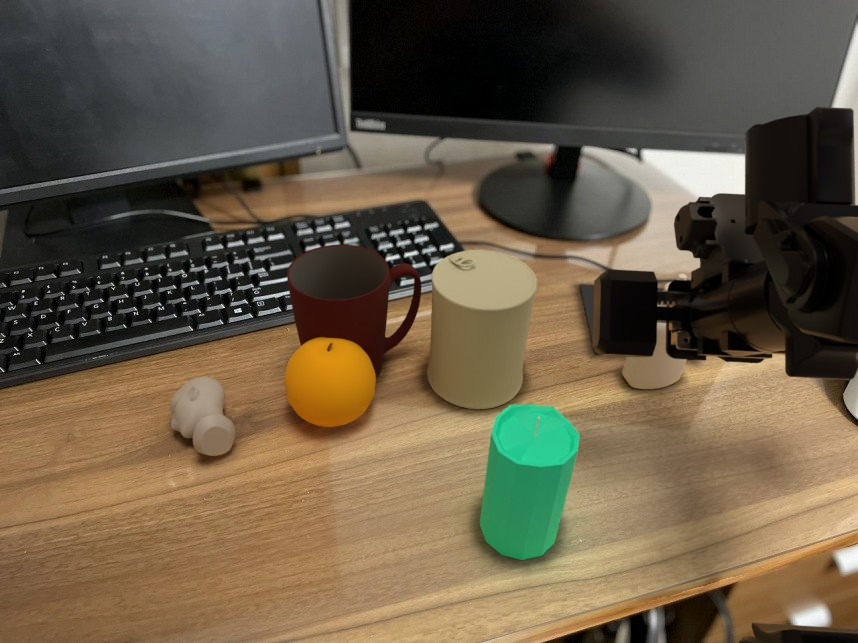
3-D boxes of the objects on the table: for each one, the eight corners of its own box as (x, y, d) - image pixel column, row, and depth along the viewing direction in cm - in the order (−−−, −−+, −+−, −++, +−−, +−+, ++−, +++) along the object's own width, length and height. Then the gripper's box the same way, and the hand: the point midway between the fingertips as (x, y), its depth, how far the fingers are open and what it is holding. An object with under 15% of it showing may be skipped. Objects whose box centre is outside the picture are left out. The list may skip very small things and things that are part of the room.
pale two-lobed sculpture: (179, 415, 61) (230, 388, 62) (191, 479, 55) (247, 449, 56) (154, 385, 58) (208, 358, 59) (163, 450, 52) (223, 419, 53)
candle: (562, 561, 49) (591, 454, 42) (481, 558, 49) (496, 451, 42) (551, 494, 54) (576, 387, 47) (477, 492, 54) (490, 384, 47)
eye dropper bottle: (621, 357, 67) (649, 257, 60) (679, 368, 67) (714, 267, 59) (620, 387, 64) (649, 284, 57) (681, 398, 63) (719, 295, 56)
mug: (405, 325, 71) (406, 234, 64) (432, 380, 64) (436, 285, 57) (291, 346, 67) (279, 252, 61) (307, 406, 61) (296, 308, 54)
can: (474, 333, 70) (483, 233, 62) (542, 378, 65) (560, 276, 57) (407, 372, 65) (408, 269, 57) (475, 425, 60) (486, 319, 52)
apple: (271, 405, 61) (260, 342, 56) (340, 367, 65) (335, 305, 61) (324, 456, 56) (317, 391, 52) (394, 411, 61) (394, 347, 56)
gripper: (922, 187, 42) (792, 243, 58) (626, 173, 43) (576, 232, 58) (927, 363, 41) (793, 372, 57) (622, 346, 42) (572, 360, 57)
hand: (683, 330), depth 57 cm, fingers closed
